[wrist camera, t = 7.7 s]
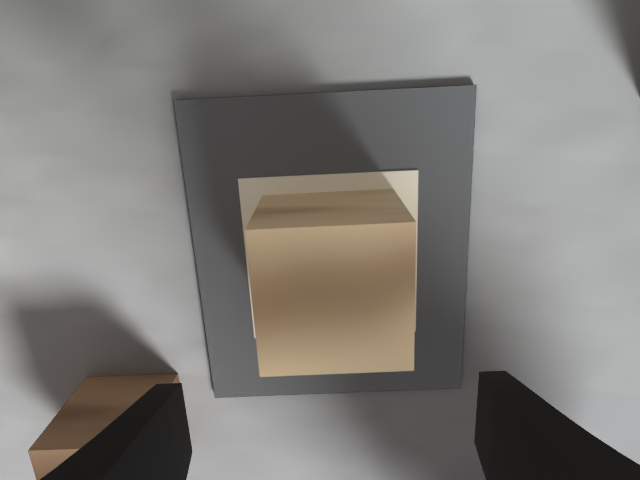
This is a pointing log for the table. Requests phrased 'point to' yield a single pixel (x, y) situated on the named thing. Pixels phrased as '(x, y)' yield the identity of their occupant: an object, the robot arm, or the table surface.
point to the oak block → (332, 282)
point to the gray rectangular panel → (330, 176)
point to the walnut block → (89, 416)
